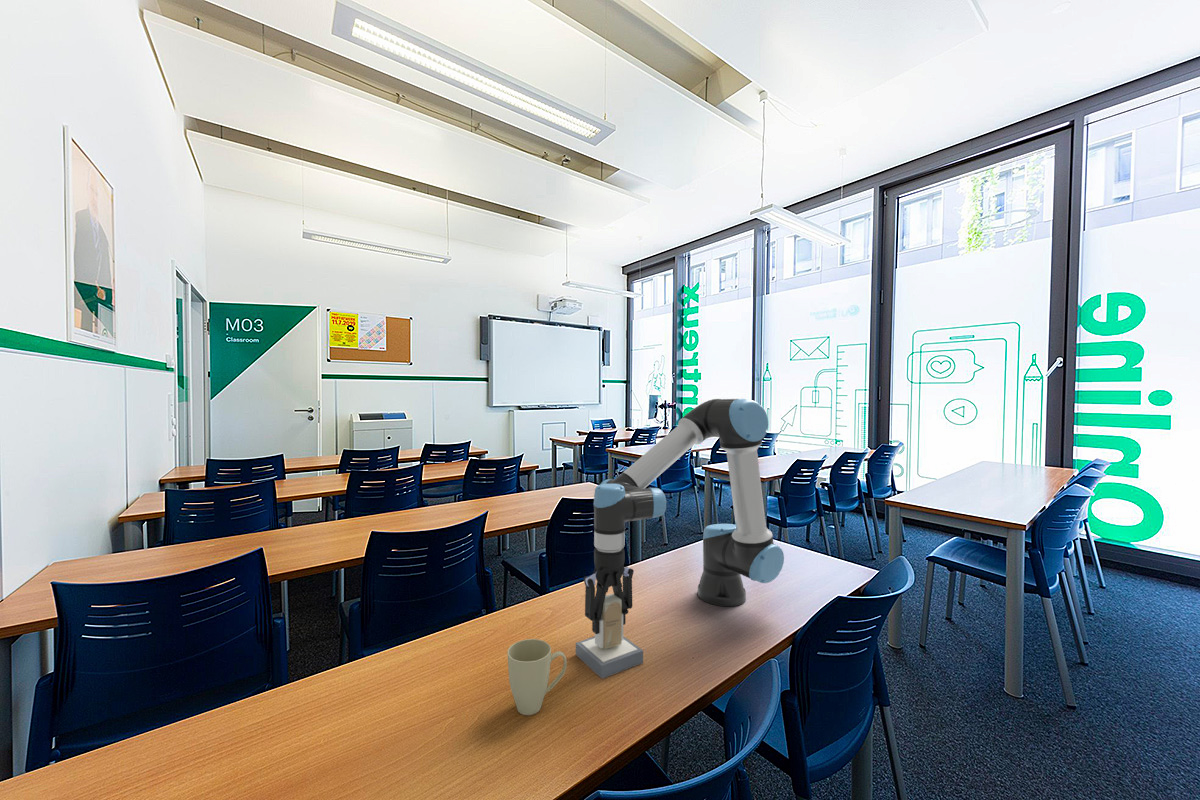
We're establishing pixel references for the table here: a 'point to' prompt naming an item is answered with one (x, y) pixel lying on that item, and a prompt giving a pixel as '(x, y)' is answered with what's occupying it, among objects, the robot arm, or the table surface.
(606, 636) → the box
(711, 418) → the robot arm
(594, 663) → the pedestal
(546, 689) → the mug
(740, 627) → the table surface
